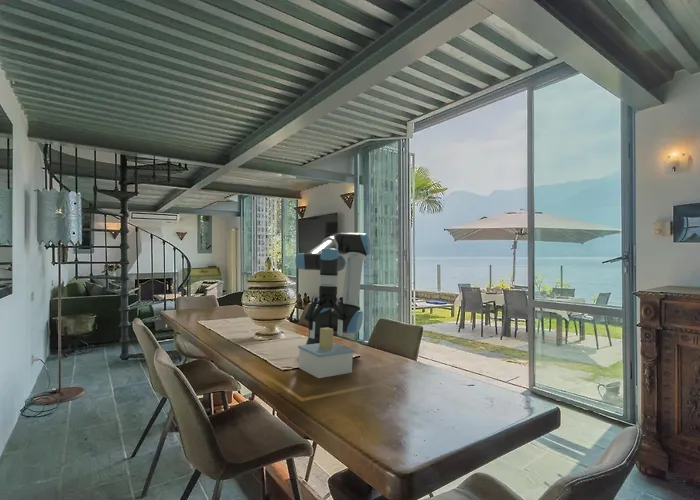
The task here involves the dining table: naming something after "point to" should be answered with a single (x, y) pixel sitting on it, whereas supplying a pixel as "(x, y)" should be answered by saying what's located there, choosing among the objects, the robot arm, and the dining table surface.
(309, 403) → the dining table surface
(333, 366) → the box
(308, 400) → the dining table surface
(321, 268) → the robot arm
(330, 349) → the lid
